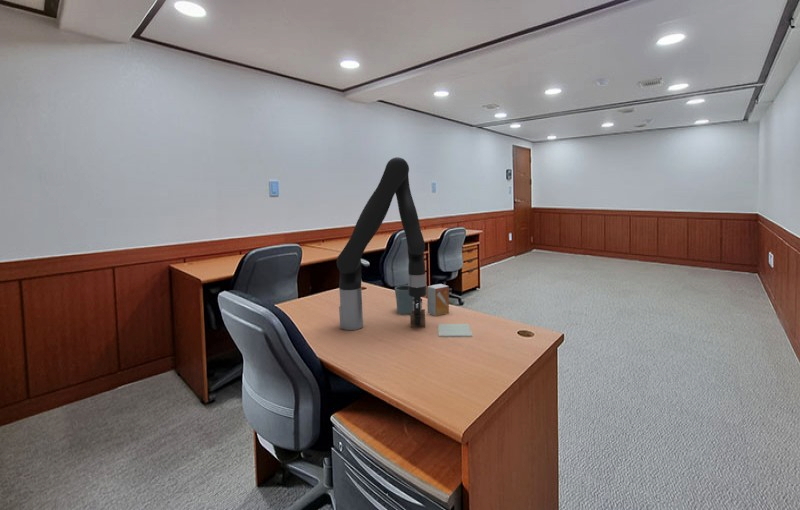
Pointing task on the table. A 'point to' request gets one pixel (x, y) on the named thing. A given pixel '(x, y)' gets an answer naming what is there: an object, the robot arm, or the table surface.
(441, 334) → the pad
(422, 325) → the cube
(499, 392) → the table surface
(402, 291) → the grey cup
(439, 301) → the small box
